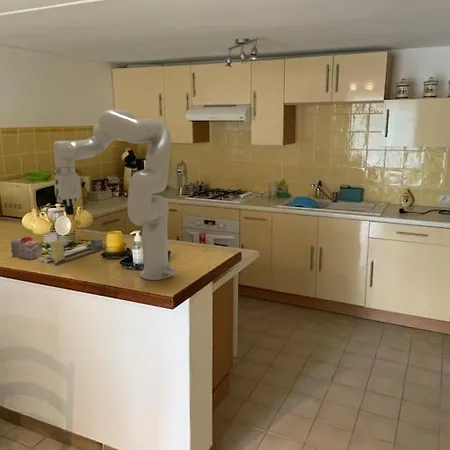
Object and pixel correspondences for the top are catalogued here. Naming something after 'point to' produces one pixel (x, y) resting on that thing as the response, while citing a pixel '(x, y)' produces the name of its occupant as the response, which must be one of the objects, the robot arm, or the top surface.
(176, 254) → the top surface
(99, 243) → the grey slide rail
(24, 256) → the food item
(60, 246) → the sliding head
